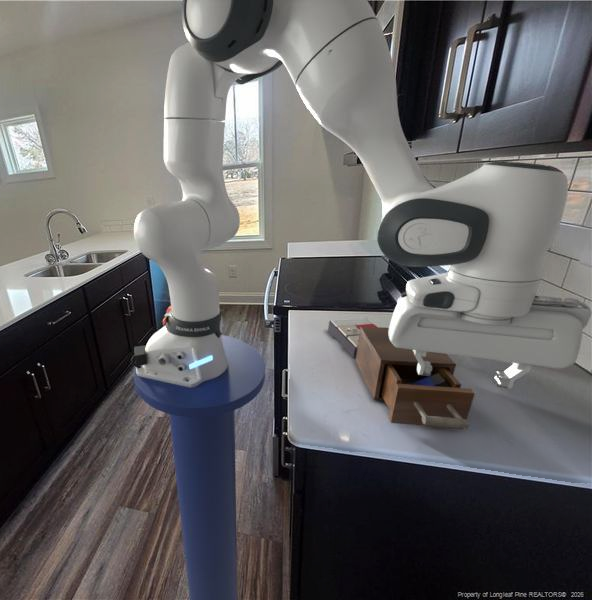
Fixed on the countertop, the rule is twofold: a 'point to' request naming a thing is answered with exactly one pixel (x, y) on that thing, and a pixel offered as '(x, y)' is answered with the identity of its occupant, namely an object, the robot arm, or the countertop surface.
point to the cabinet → (388, 357)
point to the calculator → (348, 332)
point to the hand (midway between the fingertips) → (461, 379)
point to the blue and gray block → (432, 381)
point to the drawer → (425, 398)
